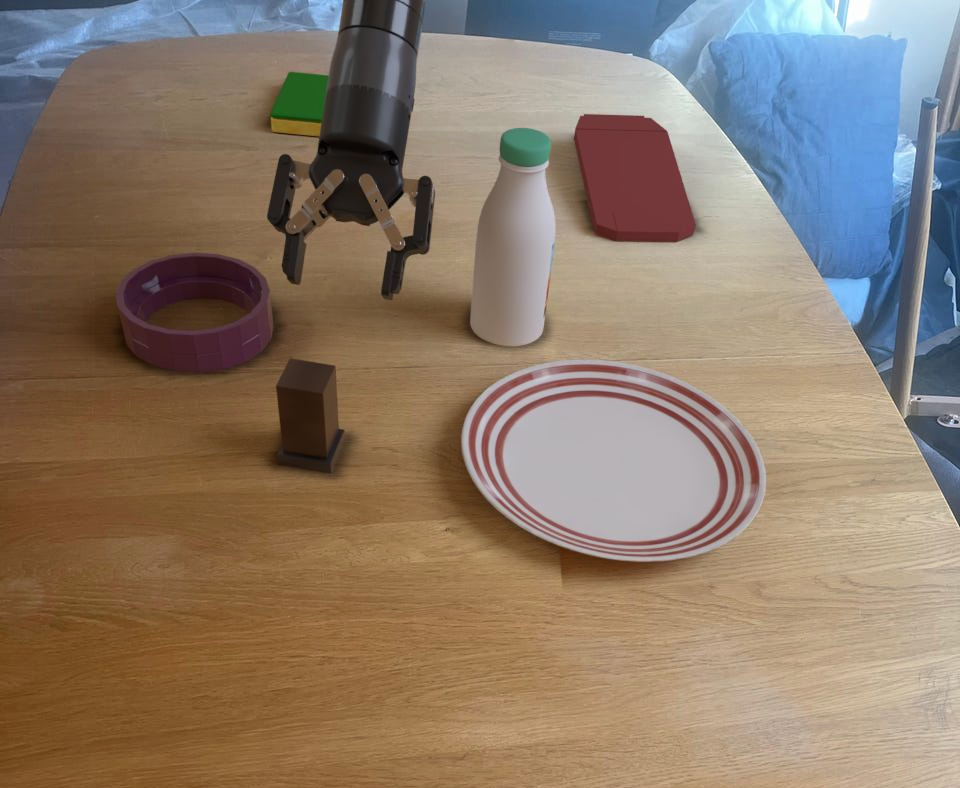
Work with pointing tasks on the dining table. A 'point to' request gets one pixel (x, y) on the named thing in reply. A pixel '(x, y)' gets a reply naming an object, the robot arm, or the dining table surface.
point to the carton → (632, 179)
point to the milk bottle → (515, 244)
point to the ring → (192, 281)
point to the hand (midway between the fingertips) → (340, 290)
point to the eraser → (309, 416)
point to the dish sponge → (300, 104)
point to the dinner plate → (613, 460)
